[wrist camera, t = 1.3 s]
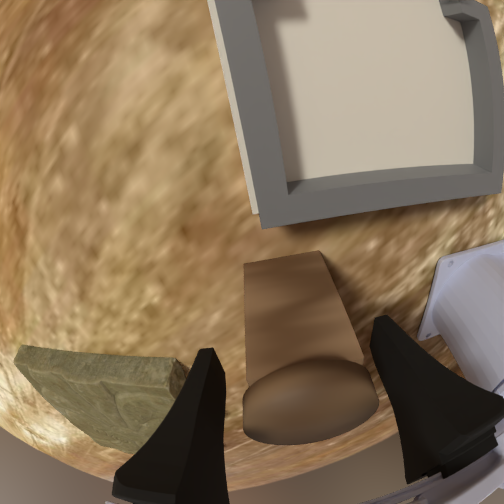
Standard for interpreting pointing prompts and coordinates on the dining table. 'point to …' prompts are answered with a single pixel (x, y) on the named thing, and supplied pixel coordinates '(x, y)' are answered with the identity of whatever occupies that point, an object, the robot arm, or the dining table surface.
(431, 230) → the dining table surface
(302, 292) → the walnut peg
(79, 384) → the olive stone flat slab
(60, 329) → the dining table surface
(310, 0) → the grey flat framed piece
